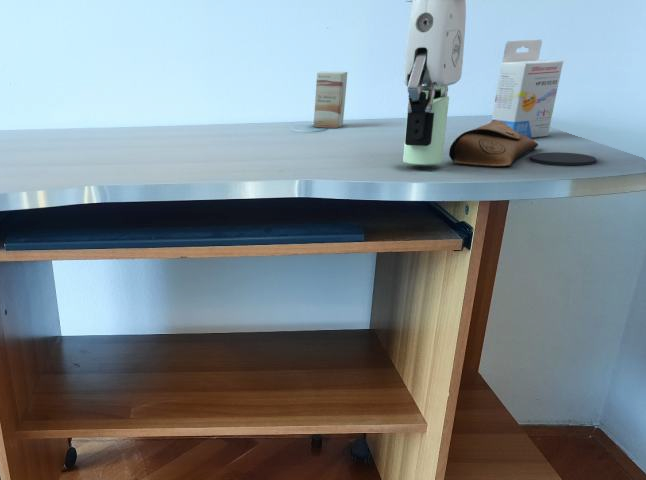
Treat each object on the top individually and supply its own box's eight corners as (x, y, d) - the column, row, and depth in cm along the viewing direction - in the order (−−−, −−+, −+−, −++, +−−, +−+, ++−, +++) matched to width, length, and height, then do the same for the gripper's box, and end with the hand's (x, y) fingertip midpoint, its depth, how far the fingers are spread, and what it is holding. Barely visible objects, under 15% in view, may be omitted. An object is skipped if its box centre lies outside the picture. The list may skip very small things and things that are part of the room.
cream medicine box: (312, 127, 127) (315, 72, 122) (318, 124, 130) (321, 71, 126) (338, 128, 125) (342, 72, 120) (344, 125, 128) (347, 70, 124)
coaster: (598, 157, 89) (599, 154, 89) (592, 167, 83) (593, 164, 83) (535, 153, 93) (535, 150, 93) (525, 163, 87) (525, 160, 87)
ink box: (512, 141, 104) (530, 40, 98) (487, 137, 108) (503, 41, 102) (549, 136, 107) (569, 38, 101) (524, 132, 111) (541, 39, 105)
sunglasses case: (514, 164, 84) (493, 117, 83) (462, 187, 89) (442, 143, 88) (540, 144, 97) (523, 103, 96) (494, 165, 102) (477, 127, 101)
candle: (402, 165, 85) (408, 99, 82) (403, 158, 89) (408, 96, 86) (442, 165, 84) (450, 98, 80) (441, 158, 88) (448, 94, 84)
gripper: (453, -20, 69) (434, 153, 77) (488, -15, 82) (469, 133, 90) (385, -13, 73) (374, 150, 81) (428, -10, 86) (415, 132, 94)
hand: (424, 140), depth 85 cm, fingers closed on candle, 4 cm apart
